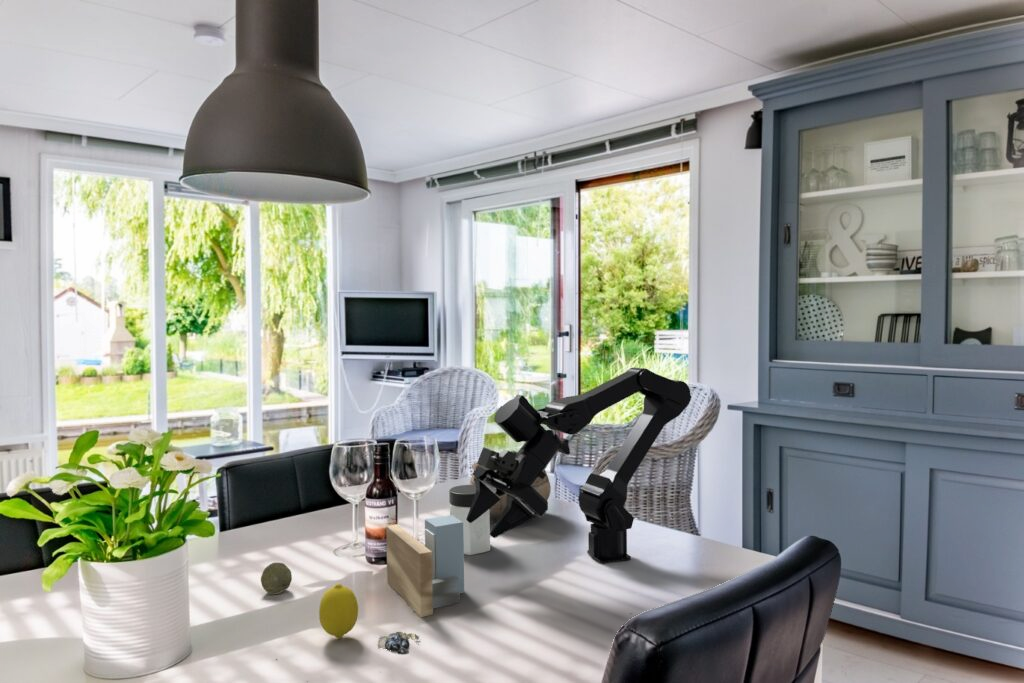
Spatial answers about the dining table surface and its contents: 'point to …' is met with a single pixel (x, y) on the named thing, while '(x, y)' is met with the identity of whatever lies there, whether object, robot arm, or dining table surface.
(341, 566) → the dining table surface
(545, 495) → the cooking pot
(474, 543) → the jar
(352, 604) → the lemon
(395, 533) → the wooden bookend
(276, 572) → the lime
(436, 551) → the light blue tall block
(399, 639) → the blueberries
